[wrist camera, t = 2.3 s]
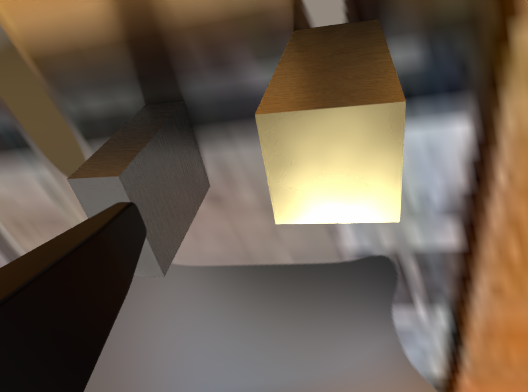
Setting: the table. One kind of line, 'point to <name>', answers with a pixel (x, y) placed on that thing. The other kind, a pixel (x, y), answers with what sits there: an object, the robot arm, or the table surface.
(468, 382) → the table surface
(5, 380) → the robot arm
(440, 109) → the table surface
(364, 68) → the square bit
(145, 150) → the bar
